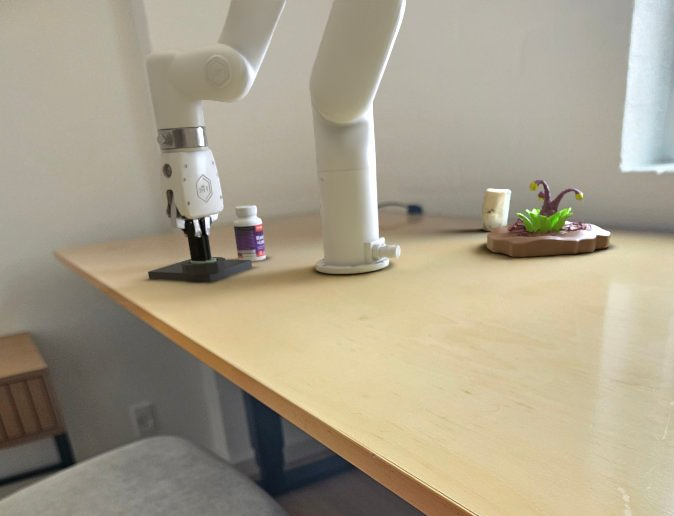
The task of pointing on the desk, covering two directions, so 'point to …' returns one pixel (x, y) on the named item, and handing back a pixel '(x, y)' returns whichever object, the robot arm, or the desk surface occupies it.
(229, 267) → the scale
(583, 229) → the plant
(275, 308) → the desk surface
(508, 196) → the white speckled cylinder
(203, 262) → the tare button
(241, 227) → the pill bottle
